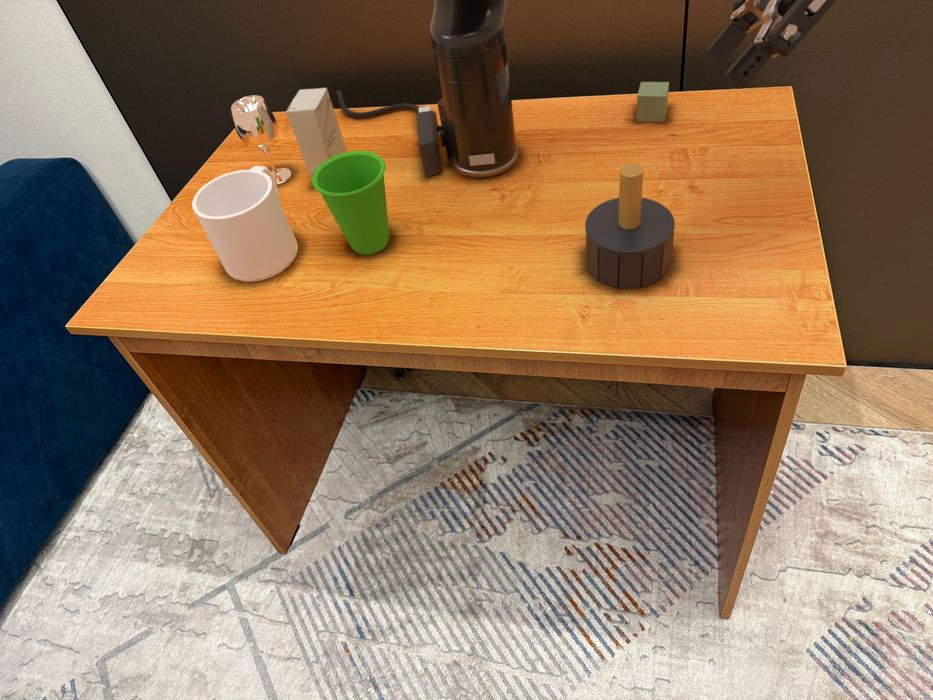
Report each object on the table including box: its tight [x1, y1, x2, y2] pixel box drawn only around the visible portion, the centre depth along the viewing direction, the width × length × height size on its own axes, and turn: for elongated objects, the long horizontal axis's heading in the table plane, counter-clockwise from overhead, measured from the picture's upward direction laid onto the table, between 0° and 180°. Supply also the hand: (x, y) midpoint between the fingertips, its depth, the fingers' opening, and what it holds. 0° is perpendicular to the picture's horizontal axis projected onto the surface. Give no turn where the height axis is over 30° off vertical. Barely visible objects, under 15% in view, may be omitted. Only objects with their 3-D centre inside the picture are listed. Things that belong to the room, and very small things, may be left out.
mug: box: [191, 165, 299, 283], centre depth 90 cm, size 13×10×10 cm
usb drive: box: [416, 105, 442, 178], centre depth 102 cm, size 5×12×3 cm
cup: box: [311, 150, 390, 256], centre depth 87 cm, size 9×9×11 cm
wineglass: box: [230, 94, 292, 186], centre depth 101 cm, size 6×6×12 cm
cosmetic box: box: [285, 87, 348, 181], centre depth 99 cm, size 6×4×12 cm
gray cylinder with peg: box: [584, 163, 676, 290], centre depth 77 cm, size 10×10×13 cm
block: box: [635, 81, 670, 123], centre depth 101 cm, size 4×4×4 cm
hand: (722, 70), depth 71 cm, fingers open, 8 cm apart
